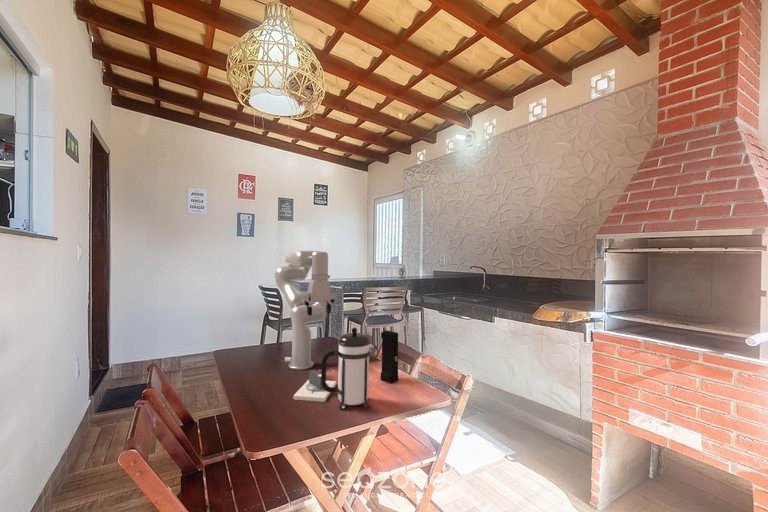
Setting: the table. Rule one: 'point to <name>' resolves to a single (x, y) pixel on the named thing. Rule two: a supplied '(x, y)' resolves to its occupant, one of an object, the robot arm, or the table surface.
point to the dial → (314, 381)
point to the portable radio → (389, 356)
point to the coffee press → (350, 369)
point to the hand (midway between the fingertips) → (319, 314)
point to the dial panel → (313, 393)
